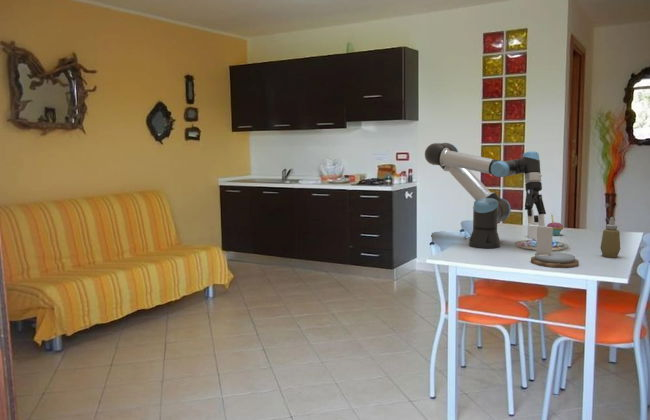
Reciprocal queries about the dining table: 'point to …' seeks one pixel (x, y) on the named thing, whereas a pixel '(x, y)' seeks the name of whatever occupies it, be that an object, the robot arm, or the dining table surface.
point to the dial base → (554, 265)
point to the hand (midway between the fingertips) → (536, 225)
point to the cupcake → (555, 227)
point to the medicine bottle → (533, 228)
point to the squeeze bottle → (610, 240)
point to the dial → (549, 248)
